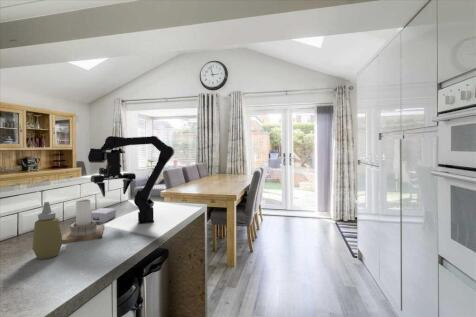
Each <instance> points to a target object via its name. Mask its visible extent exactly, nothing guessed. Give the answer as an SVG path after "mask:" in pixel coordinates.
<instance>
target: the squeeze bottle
mask: <svg viewBox="0 0 476 317" xmlns="http://www.w3.org/2000/svg"><path fill="white" fill-rule="evenodd" d="M56 214H57V213H56V211H52V208H51V205H50V202H49V201H45V202H43V207H42V210H41V212H40V213H38V214H37V220H36V221H34V227H33V239H32V251H33V252H34V254H35V256H36V258H37V259H39V260H45V259H46V260H47V259H50V258H54V257H56V256H58V255H59V254H60V252H61V248H62V246H63V243H62V236H63V235H62V230H61V224H60V219H59V218H58V217H56Z"/></svg>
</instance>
